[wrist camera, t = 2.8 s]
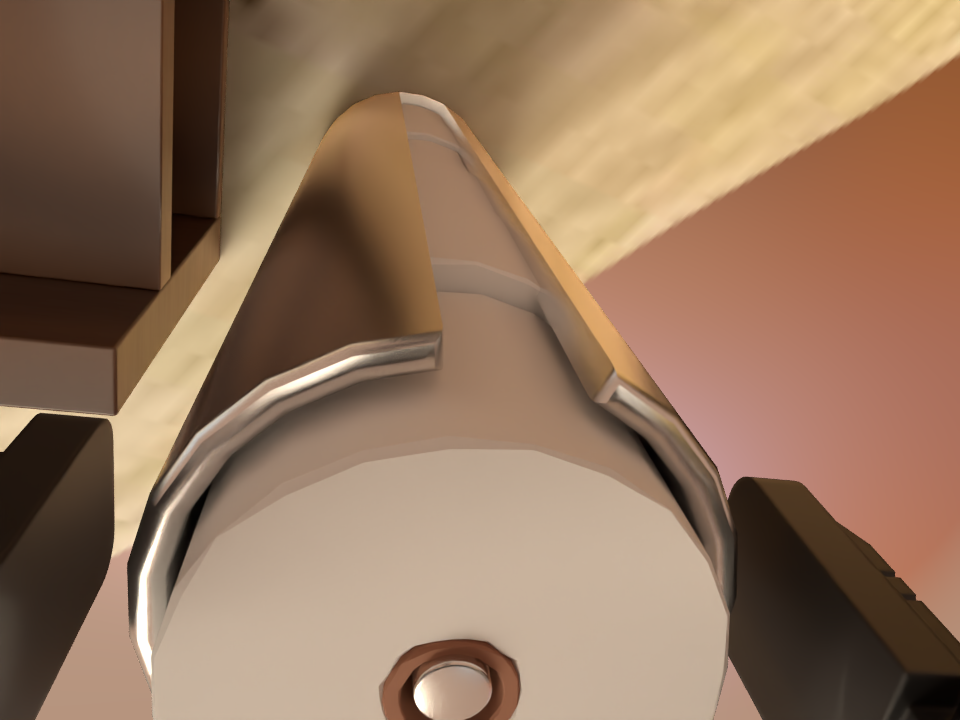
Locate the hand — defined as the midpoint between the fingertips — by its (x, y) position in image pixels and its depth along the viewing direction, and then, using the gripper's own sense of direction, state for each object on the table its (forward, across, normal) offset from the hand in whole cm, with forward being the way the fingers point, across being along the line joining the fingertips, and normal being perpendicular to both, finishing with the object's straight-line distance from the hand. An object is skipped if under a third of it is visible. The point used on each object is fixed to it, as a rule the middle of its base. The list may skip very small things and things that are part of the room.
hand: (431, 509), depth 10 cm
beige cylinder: (+22, 0, 0) cm, 22 cm away
